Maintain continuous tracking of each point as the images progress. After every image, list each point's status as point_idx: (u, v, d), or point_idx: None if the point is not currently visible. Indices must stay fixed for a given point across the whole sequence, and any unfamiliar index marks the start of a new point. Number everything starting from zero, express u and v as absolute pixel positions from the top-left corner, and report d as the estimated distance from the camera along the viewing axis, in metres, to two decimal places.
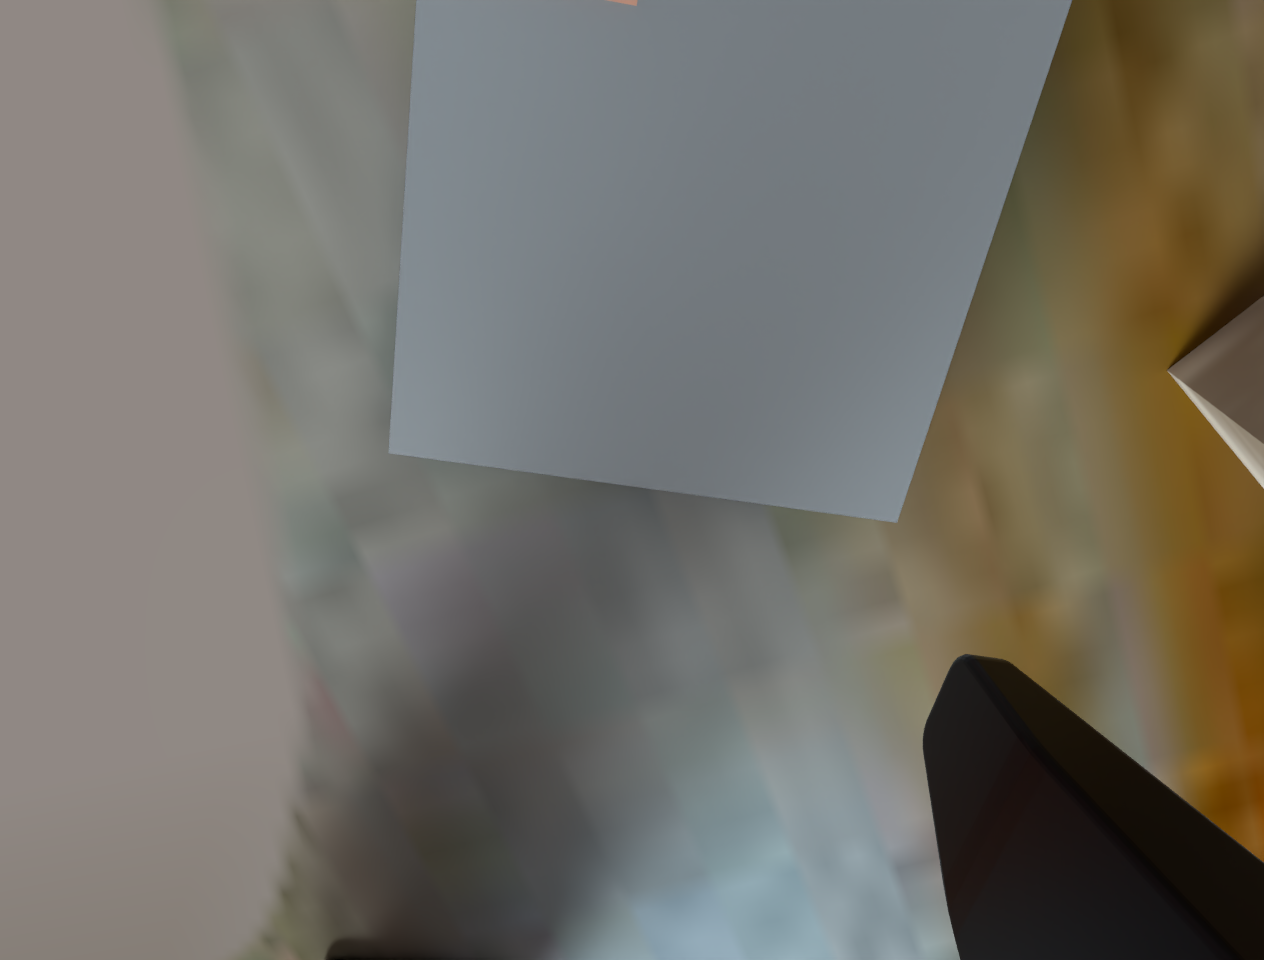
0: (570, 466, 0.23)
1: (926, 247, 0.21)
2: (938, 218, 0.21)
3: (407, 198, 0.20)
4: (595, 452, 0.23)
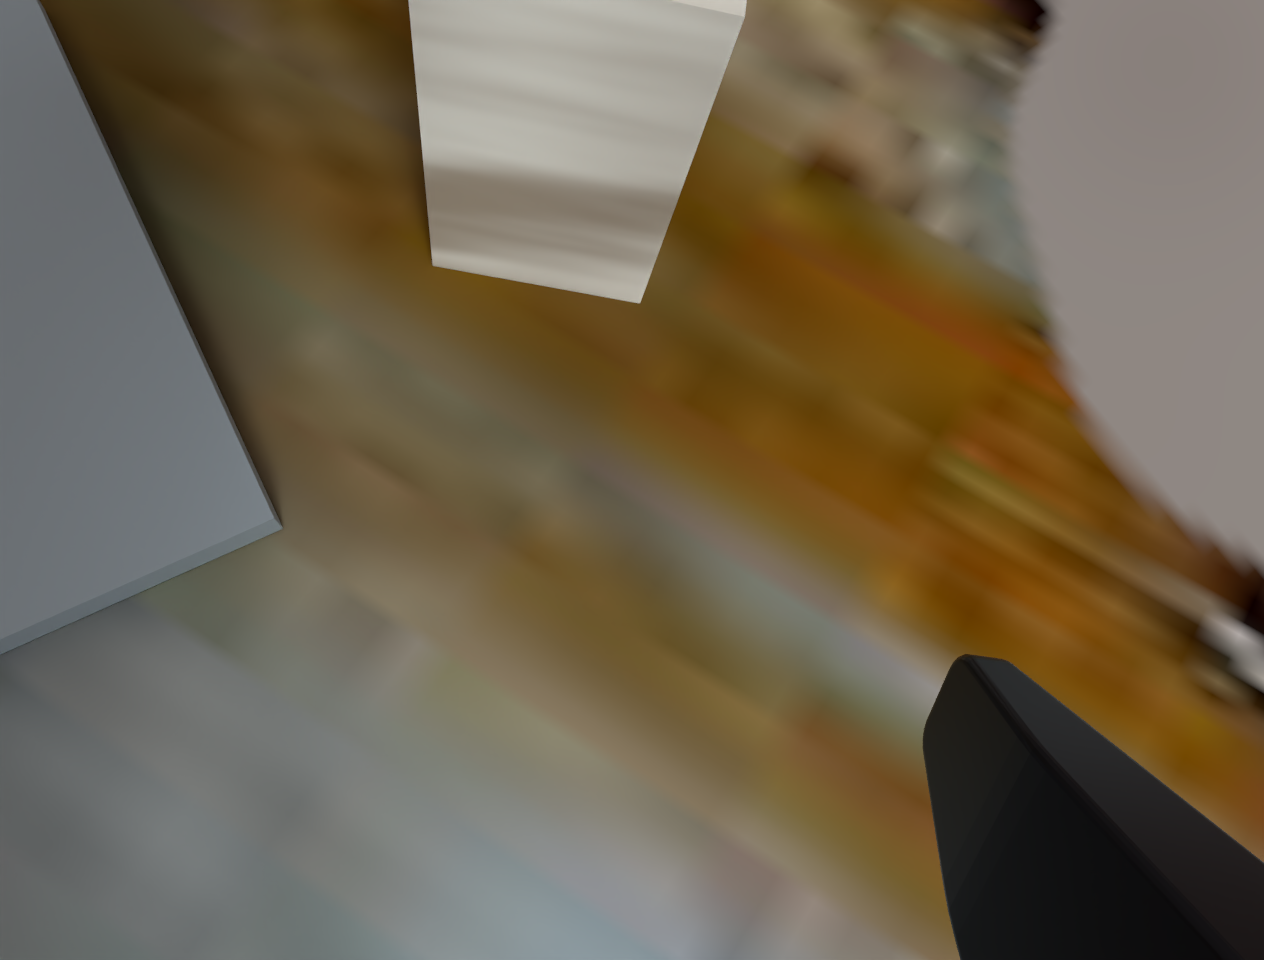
0: None
1: (93, 277, 0.22)
2: (85, 251, 0.22)
3: None
4: None
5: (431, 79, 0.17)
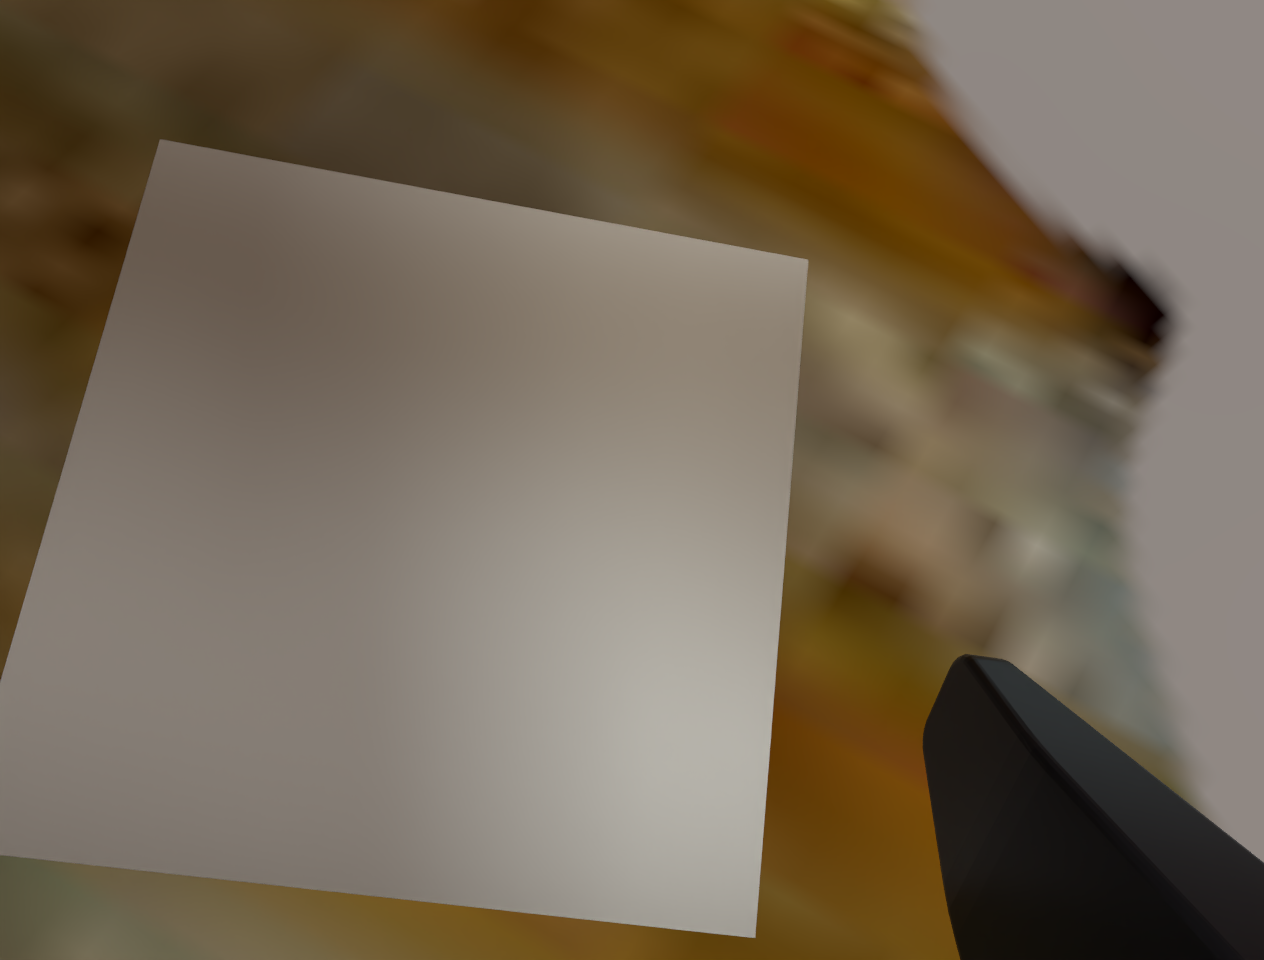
0: None
1: None
2: None
3: None
4: None
5: None
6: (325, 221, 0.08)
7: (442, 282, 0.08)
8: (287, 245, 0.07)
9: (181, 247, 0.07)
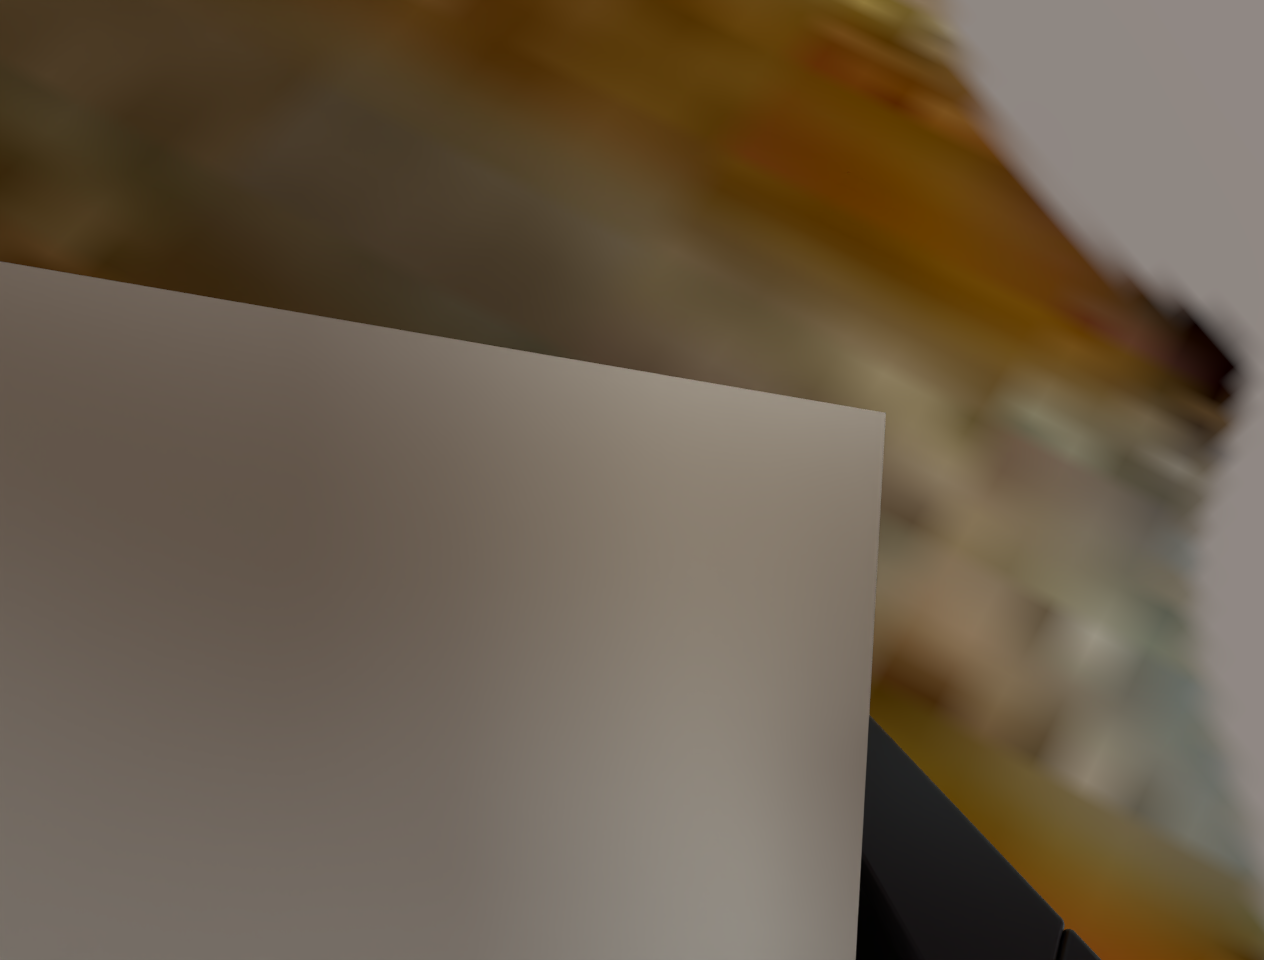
0: None
1: None
2: None
3: None
4: None
5: None
6: (200, 373, 0.05)
7: (366, 460, 0.05)
8: (143, 411, 0.05)
9: None
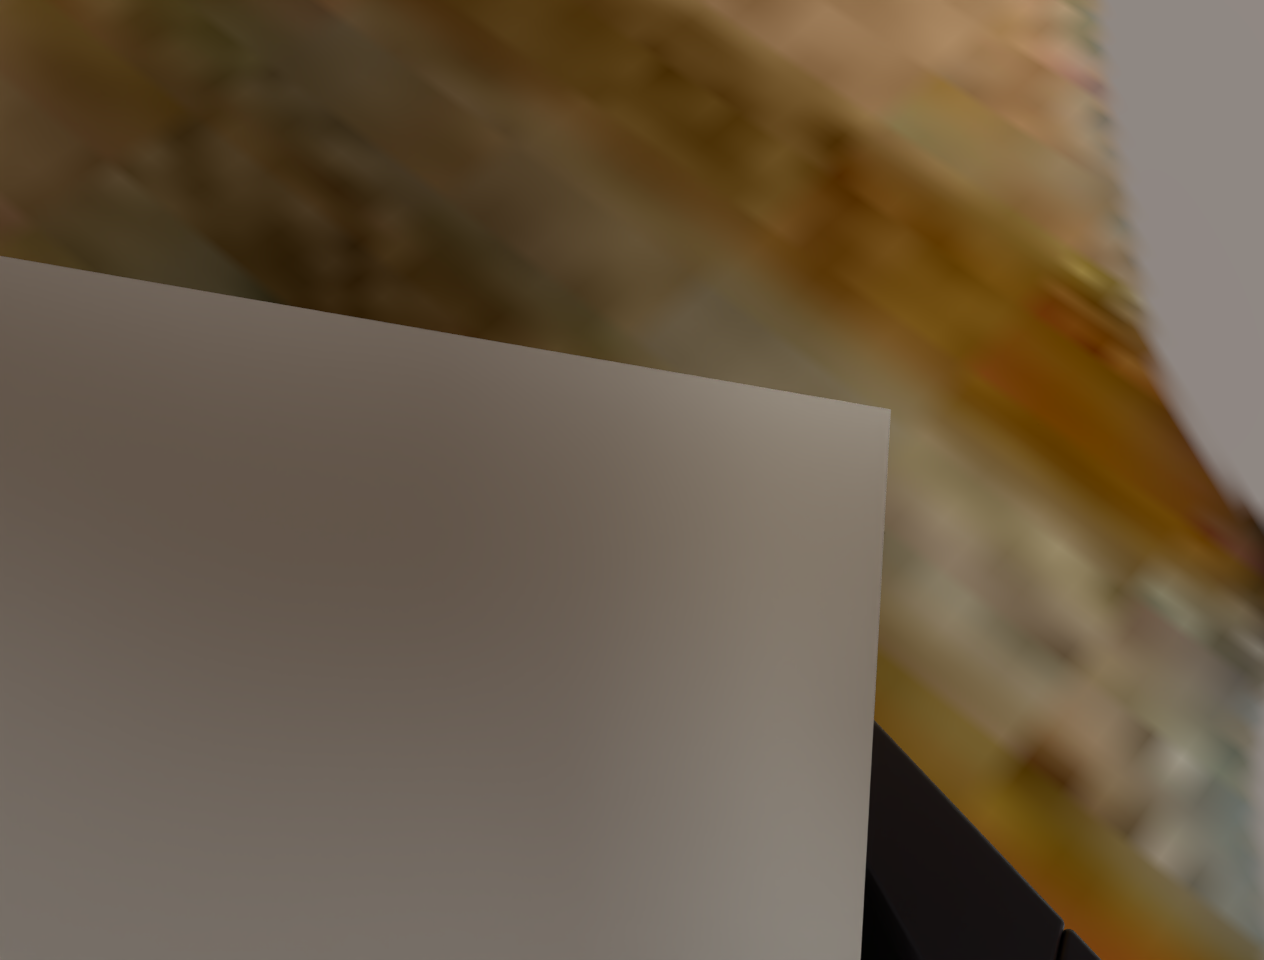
0: None
1: None
2: None
3: None
4: None
5: None
6: (207, 369, 0.05)
7: (375, 458, 0.05)
8: (151, 406, 0.05)
9: None
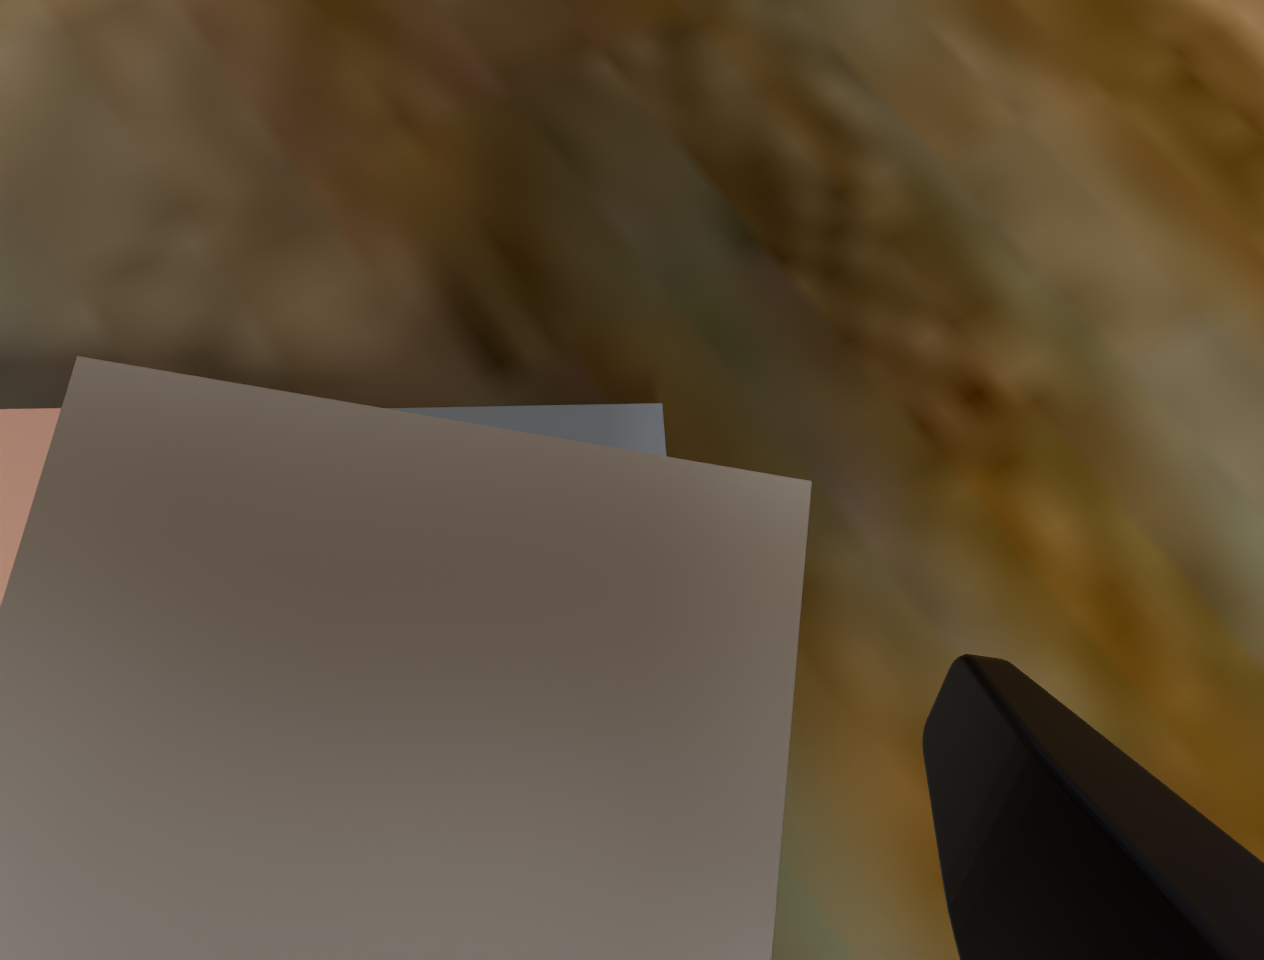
0: None
1: None
2: None
3: None
4: None
5: None
6: (264, 450, 0.07)
7: (394, 522, 0.07)
8: (220, 481, 0.07)
9: (98, 486, 0.06)
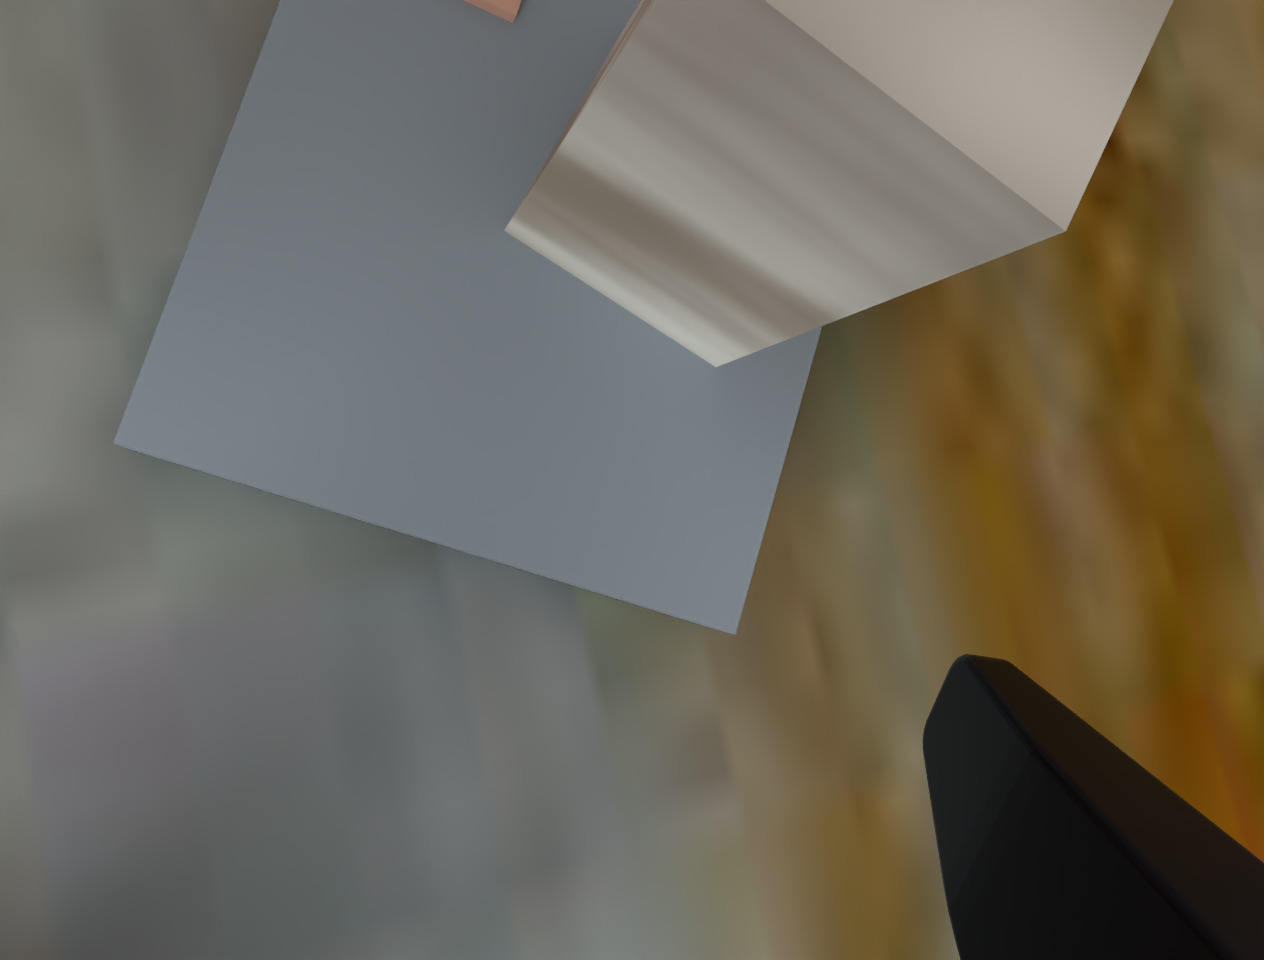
0: (357, 501, 0.18)
1: None
2: None
3: (232, 136, 0.18)
4: (392, 486, 0.19)
5: (625, 87, 0.13)
6: None
7: None
8: None
9: None
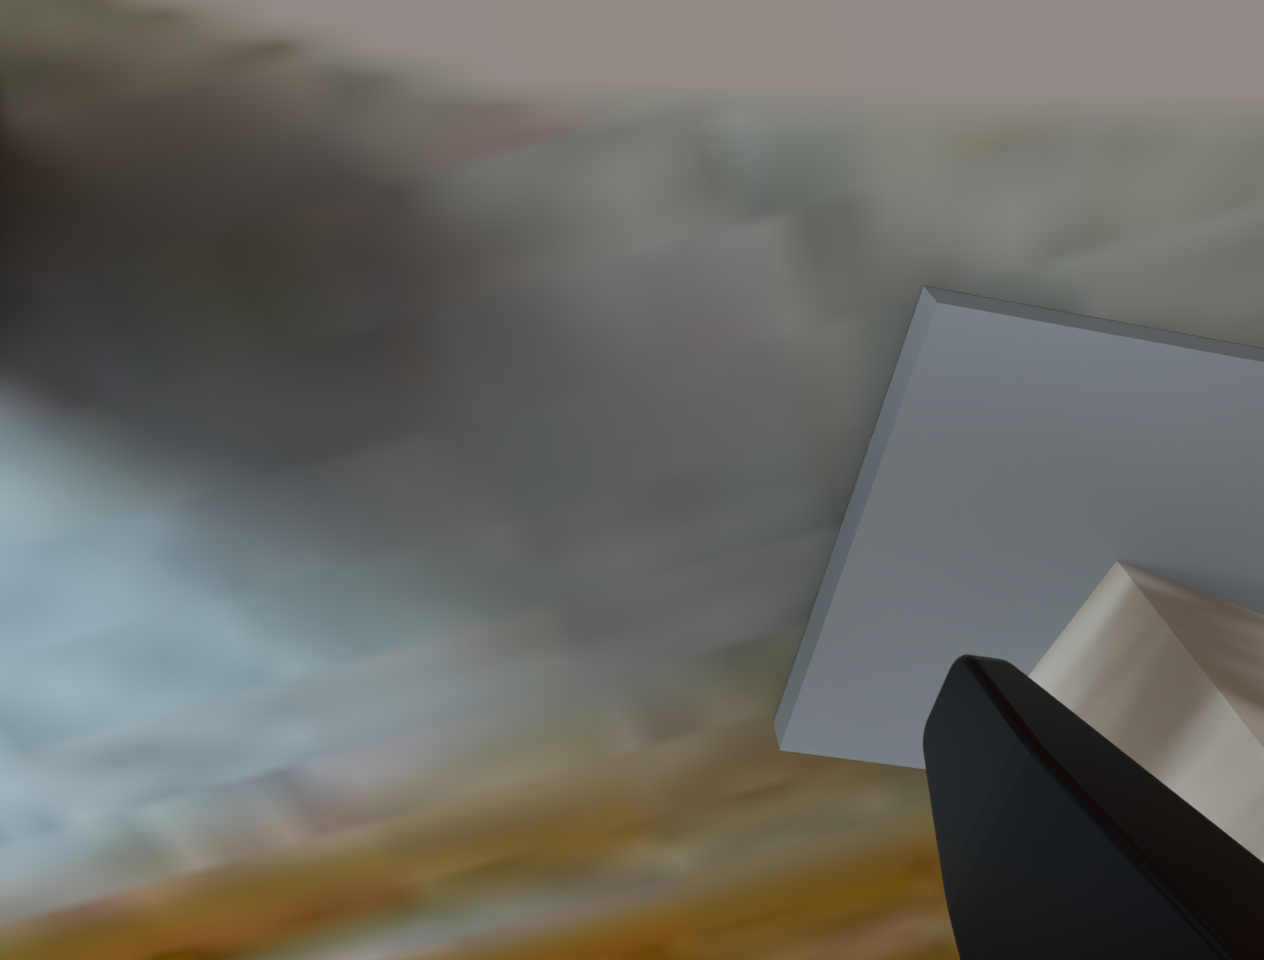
0: (886, 484, 0.22)
1: None
2: None
3: (1208, 355, 0.20)
4: (899, 508, 0.22)
5: None
6: None
7: None
8: None
9: None
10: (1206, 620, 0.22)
